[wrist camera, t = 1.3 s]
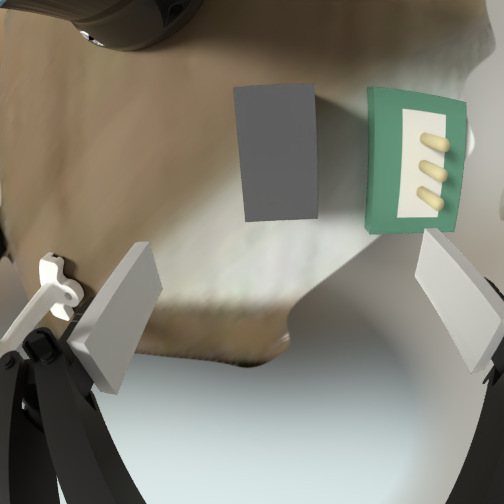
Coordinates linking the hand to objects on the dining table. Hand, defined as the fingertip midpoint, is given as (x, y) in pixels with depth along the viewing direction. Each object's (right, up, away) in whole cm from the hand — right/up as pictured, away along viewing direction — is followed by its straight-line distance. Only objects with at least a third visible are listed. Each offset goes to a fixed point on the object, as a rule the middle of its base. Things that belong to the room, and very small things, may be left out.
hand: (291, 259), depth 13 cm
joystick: (-31, -5, +26) cm, 41 cm away
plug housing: (+1, +12, +15) cm, 19 cm away
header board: (+17, +11, +15) cm, 25 cm away
